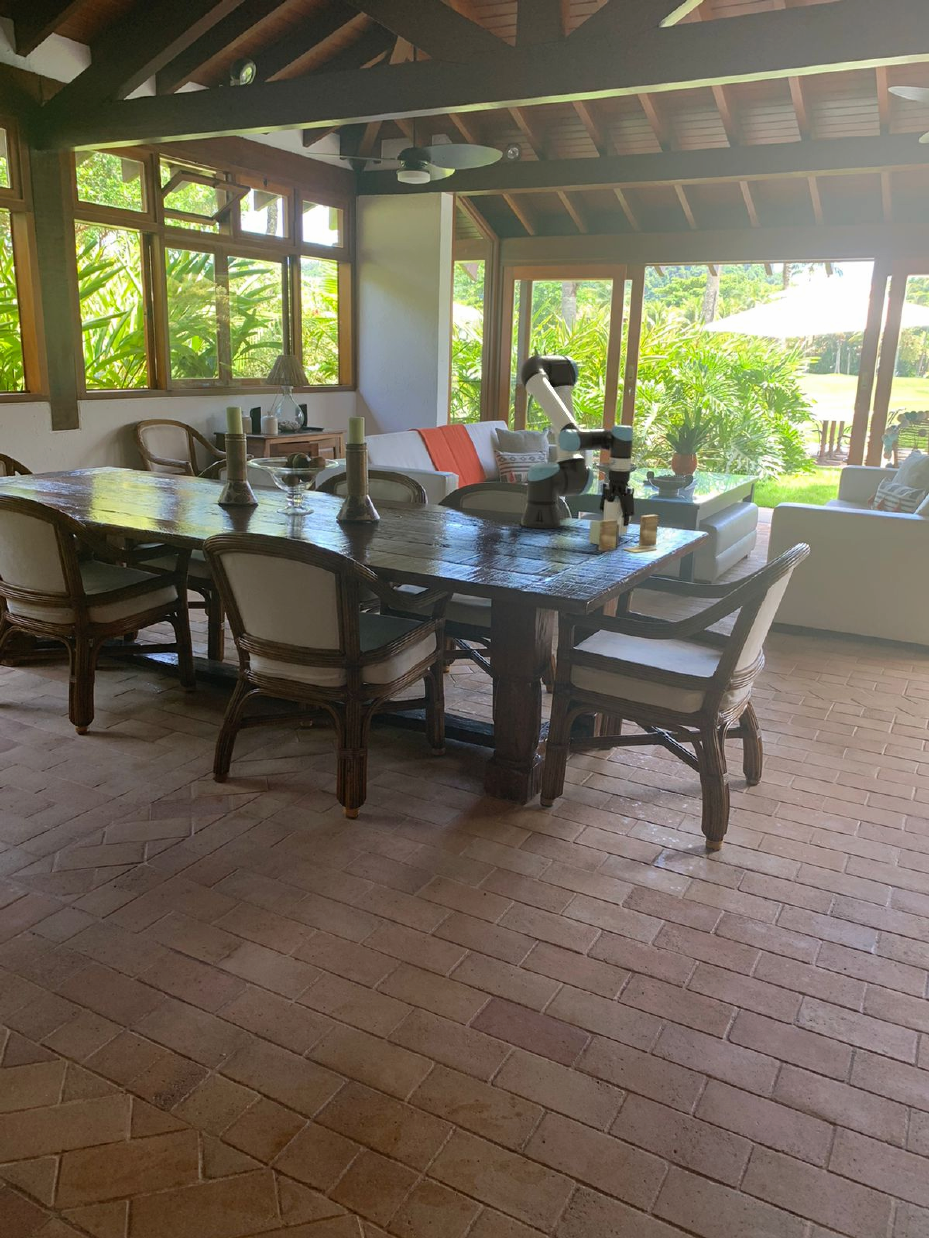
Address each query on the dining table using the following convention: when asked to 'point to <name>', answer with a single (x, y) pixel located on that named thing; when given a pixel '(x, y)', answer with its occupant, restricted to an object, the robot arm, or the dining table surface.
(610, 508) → the mug
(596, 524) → the gate door
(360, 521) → the dining table surface
